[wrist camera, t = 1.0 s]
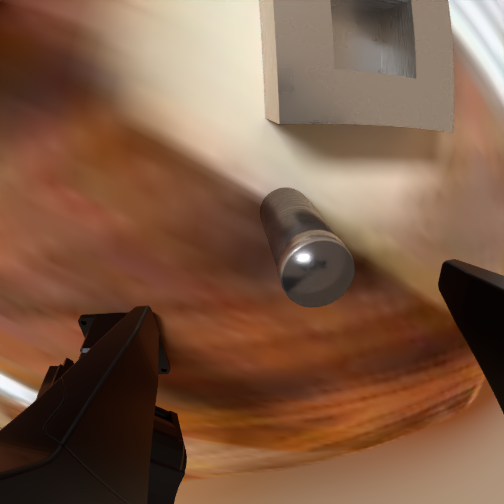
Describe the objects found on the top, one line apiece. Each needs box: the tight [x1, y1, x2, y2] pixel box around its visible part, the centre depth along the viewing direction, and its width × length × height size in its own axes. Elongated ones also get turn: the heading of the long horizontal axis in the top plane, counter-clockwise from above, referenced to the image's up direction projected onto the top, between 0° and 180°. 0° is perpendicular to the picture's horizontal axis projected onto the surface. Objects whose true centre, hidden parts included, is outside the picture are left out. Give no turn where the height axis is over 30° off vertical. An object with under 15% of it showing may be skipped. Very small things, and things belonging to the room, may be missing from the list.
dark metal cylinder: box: [260, 188, 355, 307], centre depth 17 cm, size 3×3×8 cm
